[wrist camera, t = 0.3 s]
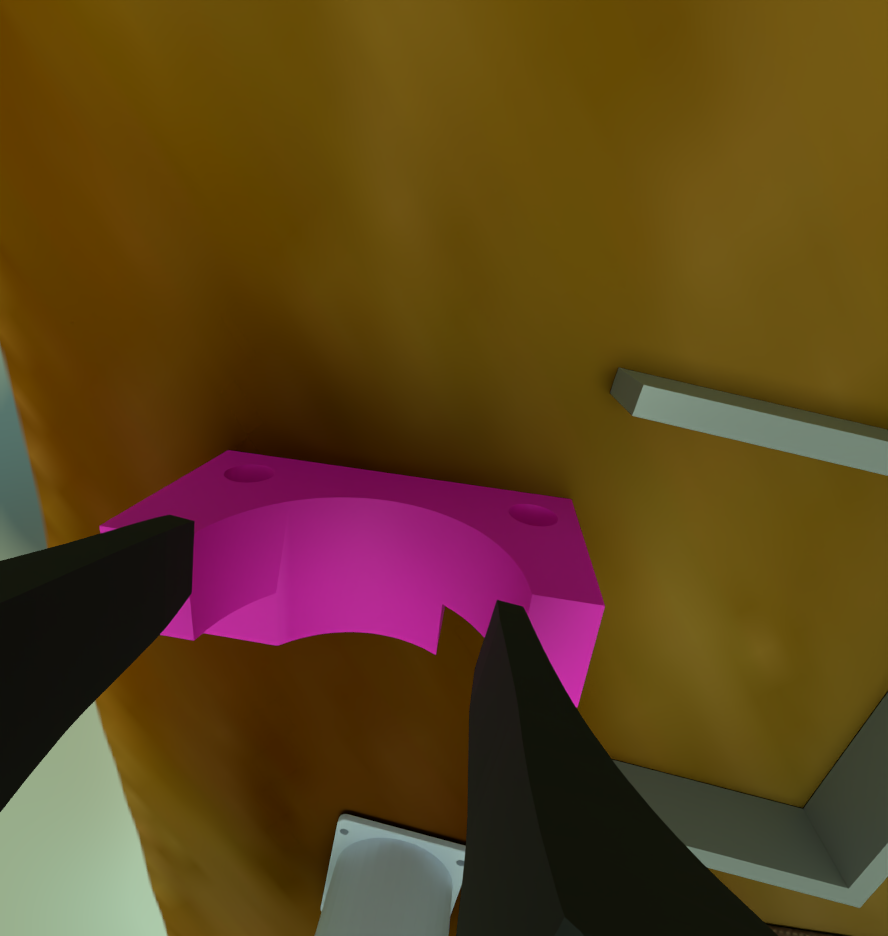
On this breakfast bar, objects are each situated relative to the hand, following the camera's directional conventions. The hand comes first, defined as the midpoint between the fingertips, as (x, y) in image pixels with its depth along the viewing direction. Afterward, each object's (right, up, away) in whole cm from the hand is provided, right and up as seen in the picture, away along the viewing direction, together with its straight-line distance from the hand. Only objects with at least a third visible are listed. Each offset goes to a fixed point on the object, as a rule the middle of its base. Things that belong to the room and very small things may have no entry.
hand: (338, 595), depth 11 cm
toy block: (0, 0, +11) cm, 11 cm away
